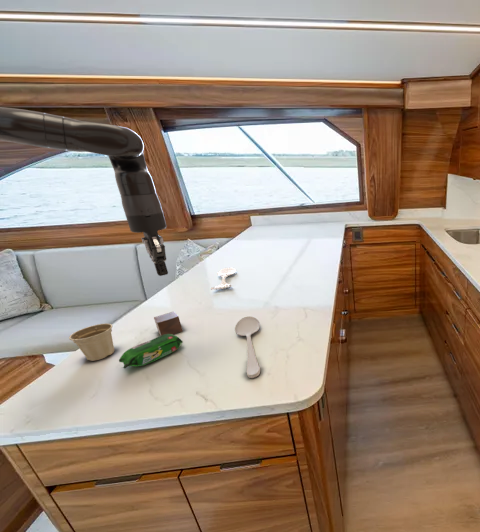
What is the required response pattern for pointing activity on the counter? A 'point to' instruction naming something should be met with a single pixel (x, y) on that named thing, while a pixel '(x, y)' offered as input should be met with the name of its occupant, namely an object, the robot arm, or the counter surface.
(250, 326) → the spoon
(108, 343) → the flower pot
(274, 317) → the counter surface
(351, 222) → the counter surface
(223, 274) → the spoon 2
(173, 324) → the walnut block
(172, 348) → the snack package
